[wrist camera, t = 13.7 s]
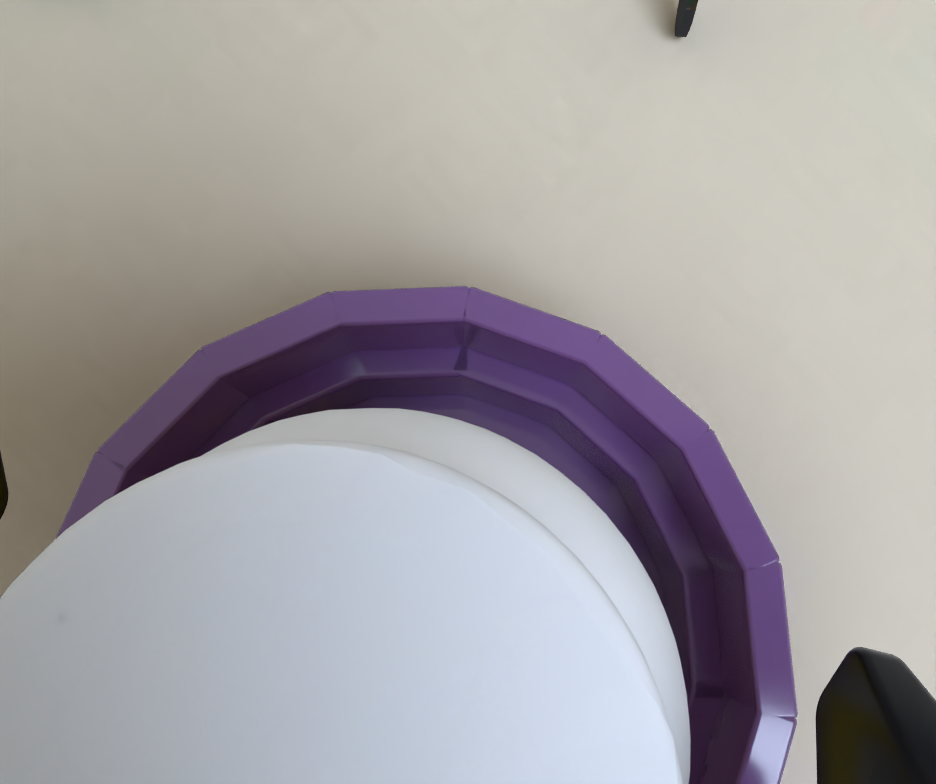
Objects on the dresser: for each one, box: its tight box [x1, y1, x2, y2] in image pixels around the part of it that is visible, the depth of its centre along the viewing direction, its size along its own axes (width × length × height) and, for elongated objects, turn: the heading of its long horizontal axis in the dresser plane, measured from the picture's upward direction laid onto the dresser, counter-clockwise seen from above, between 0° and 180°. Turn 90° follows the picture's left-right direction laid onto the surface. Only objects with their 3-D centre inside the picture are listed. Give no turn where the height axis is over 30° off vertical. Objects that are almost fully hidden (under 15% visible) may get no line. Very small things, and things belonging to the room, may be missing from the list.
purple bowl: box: [56, 286, 798, 784], centre depth 14 cm, size 11×11×4 cm
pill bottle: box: [0, 408, 691, 784], centre depth 10 cm, size 6×6×11 cm
